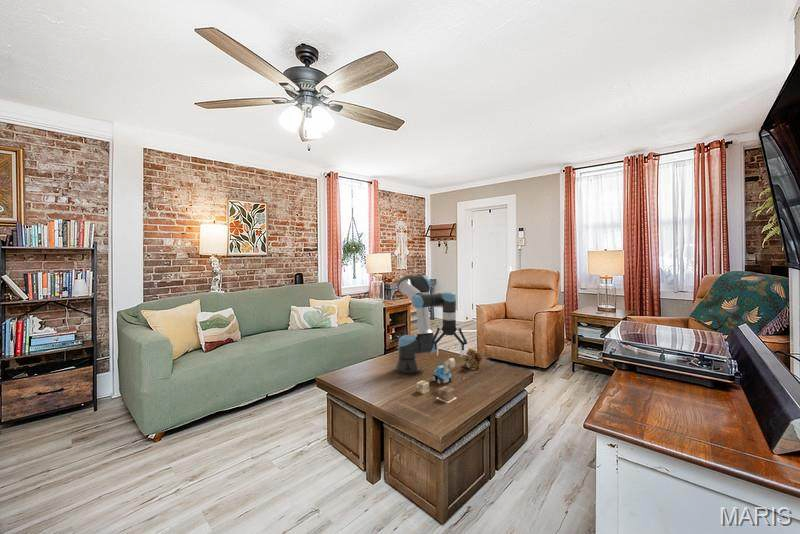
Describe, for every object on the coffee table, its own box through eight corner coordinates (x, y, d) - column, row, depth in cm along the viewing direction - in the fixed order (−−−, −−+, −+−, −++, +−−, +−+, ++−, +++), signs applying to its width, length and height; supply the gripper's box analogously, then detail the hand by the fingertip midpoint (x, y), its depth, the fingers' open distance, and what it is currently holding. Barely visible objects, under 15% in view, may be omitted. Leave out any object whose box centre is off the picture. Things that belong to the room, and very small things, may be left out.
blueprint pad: (426, 397, 182) (426, 395, 182) (441, 389, 192) (441, 387, 192) (450, 406, 171) (450, 404, 171) (465, 397, 181) (465, 396, 181)
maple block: (416, 393, 188) (416, 382, 188) (422, 390, 192) (422, 380, 191) (423, 395, 184) (423, 385, 184) (429, 393, 188) (429, 382, 188)
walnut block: (438, 398, 179) (438, 389, 179) (445, 394, 183) (445, 385, 183) (447, 401, 175) (447, 392, 174) (454, 397, 179) (454, 388, 179)
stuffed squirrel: (460, 367, 229) (460, 348, 228) (474, 363, 237) (474, 345, 236) (470, 371, 221) (470, 351, 220) (485, 367, 228) (485, 348, 228)
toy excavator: (446, 390, 191) (446, 361, 191) (431, 380, 206) (430, 353, 205) (458, 387, 195) (458, 358, 195) (442, 377, 210) (442, 351, 209)
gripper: (426, 319, 189) (427, 356, 190) (471, 321, 185) (471, 358, 186) (428, 317, 197) (428, 352, 198) (471, 318, 193) (470, 354, 194)
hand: (449, 355), depth 192 cm, fingers open, 13 cm apart
